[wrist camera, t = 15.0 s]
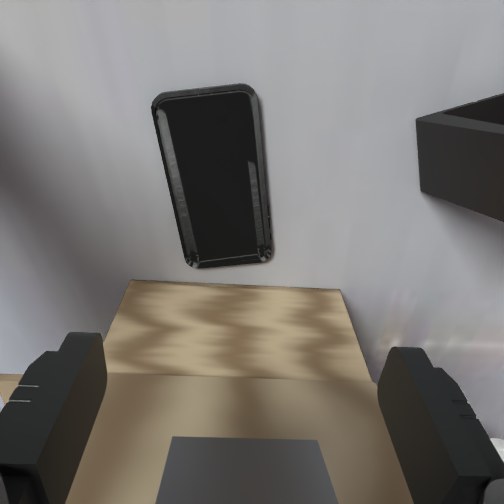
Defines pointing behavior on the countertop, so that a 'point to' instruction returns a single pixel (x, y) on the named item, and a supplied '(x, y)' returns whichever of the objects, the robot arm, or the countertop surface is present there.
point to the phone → (215, 173)
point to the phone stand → (465, 155)
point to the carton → (229, 334)
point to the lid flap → (238, 443)
